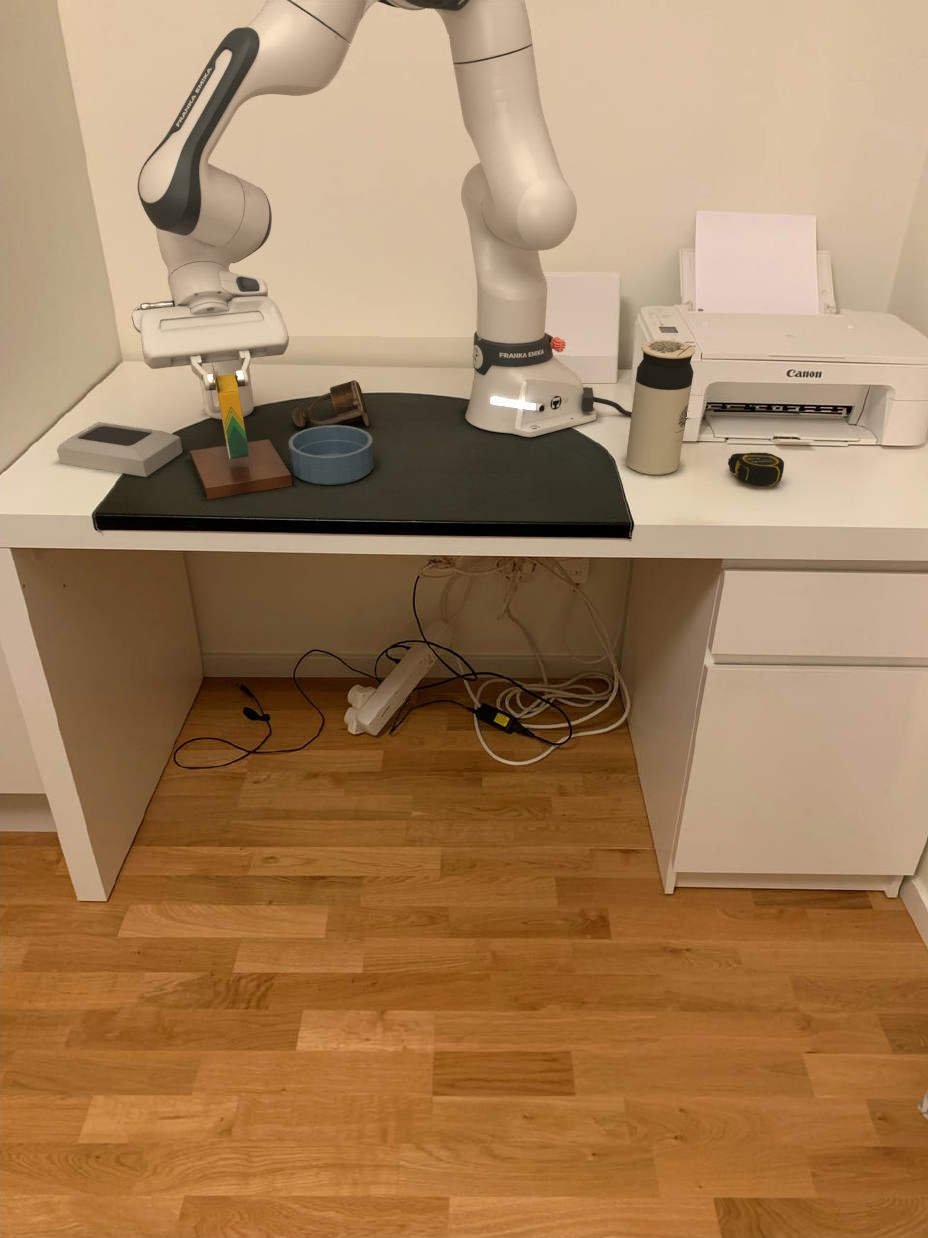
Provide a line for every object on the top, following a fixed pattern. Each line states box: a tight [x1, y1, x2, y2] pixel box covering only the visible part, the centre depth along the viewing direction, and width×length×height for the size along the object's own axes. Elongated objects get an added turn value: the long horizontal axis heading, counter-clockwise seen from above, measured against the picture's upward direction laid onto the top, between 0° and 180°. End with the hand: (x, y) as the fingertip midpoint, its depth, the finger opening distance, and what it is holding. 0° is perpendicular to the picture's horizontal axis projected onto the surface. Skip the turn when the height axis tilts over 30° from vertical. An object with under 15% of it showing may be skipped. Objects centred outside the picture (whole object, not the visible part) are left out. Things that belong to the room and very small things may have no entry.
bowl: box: [288, 424, 375, 486], centre depth 130 cm, size 12×12×4 cm
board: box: [189, 439, 293, 500], centre depth 129 cm, size 12×14×2 cm
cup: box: [199, 360, 255, 420], centre depth 146 cm, size 8×12×10 cm
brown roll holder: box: [291, 379, 370, 429], centre depth 144 cm, size 7×13×10 cm
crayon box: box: [212, 364, 249, 459], centre depth 123 cm, size 7×3×12 cm, turn 17°
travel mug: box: [625, 339, 696, 476], centre depth 128 cm, size 8×8×18 cm
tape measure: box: [727, 452, 785, 487], centre depth 128 cm, size 7×7×4 cm
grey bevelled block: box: [56, 421, 183, 478], centre depth 132 cm, size 10×4×15 cm
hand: (227, 386), depth 123 cm, fingers closed on crayon box, 3 cm apart
